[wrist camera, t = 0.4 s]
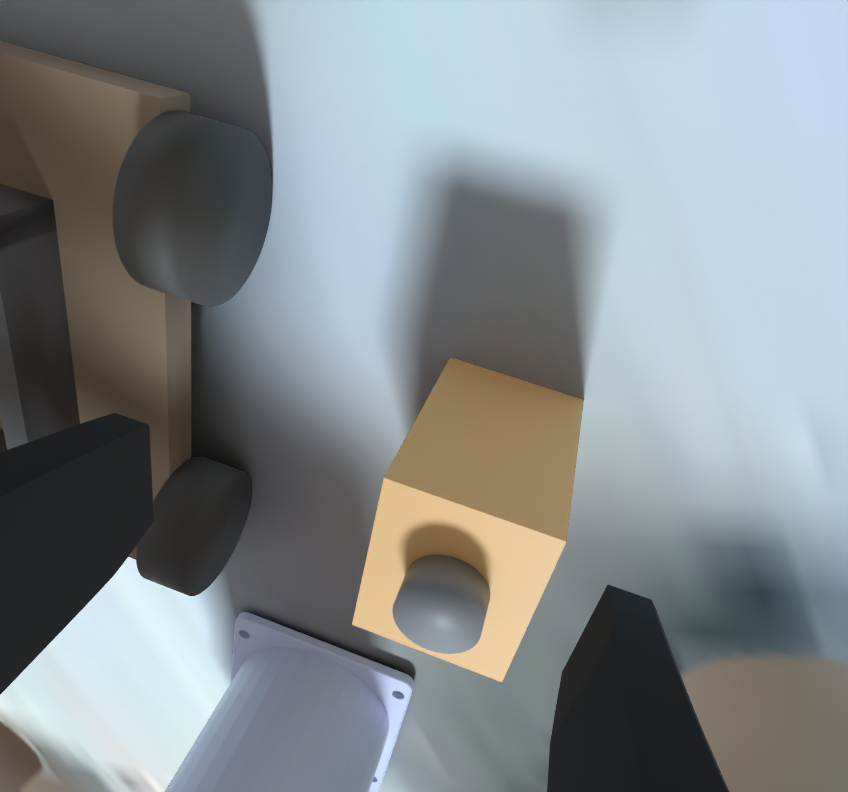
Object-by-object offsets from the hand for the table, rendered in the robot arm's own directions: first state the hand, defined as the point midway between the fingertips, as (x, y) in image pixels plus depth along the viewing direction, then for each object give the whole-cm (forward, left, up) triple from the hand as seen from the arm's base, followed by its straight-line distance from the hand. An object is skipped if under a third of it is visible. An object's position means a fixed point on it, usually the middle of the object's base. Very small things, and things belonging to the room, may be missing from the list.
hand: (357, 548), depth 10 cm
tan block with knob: (-4, -2, -10) cm, 11 cm away
